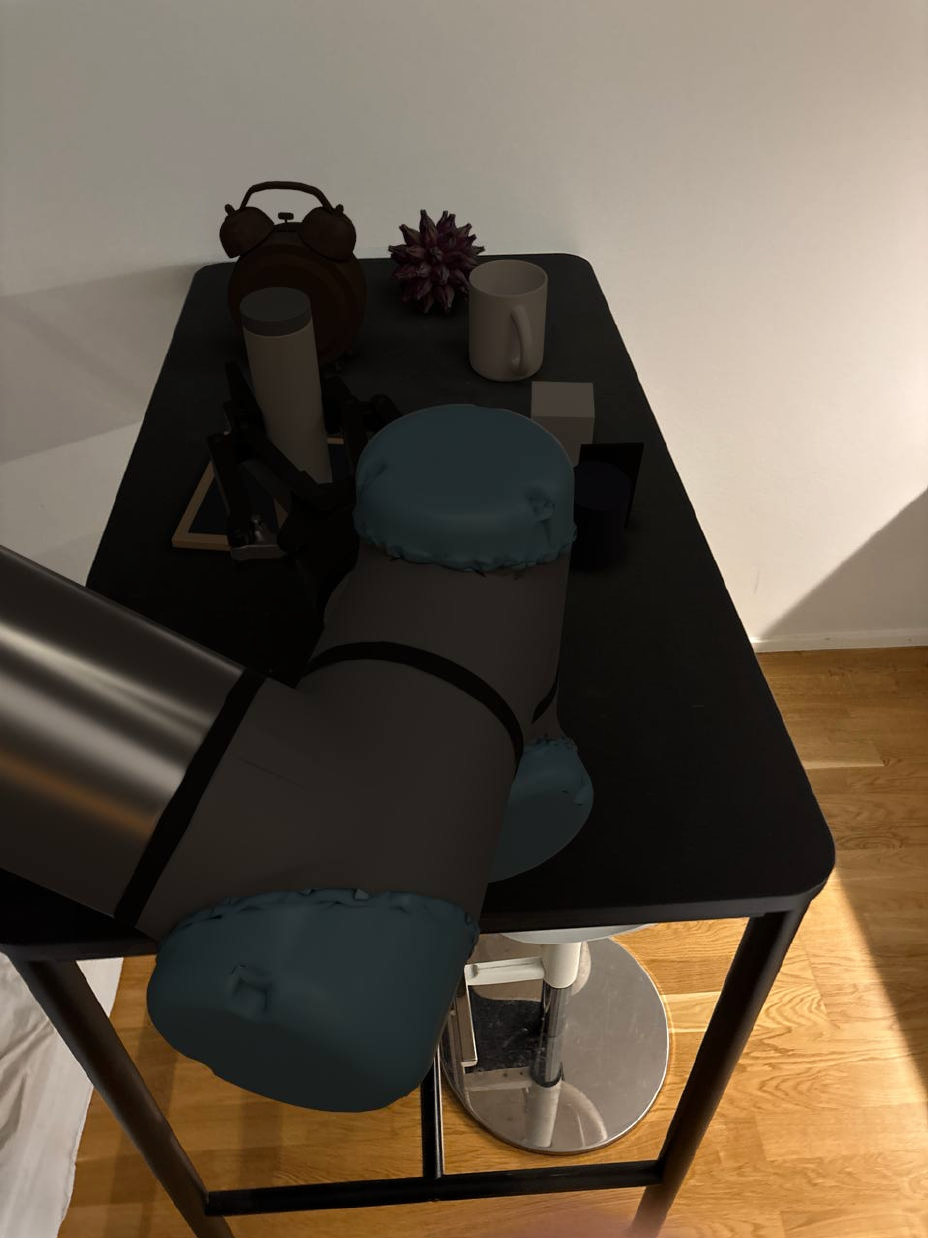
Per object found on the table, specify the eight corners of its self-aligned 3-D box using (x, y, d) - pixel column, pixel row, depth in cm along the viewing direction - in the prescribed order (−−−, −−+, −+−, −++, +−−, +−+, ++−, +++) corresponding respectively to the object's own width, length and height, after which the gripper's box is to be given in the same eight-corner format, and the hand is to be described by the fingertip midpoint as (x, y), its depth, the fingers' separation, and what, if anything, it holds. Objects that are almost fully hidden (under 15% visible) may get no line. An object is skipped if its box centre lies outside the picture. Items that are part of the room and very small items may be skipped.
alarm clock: (376, 348, 113) (362, 169, 99) (365, 381, 108) (349, 198, 94) (252, 342, 114) (221, 164, 100) (236, 375, 109) (200, 193, 95)
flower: (396, 299, 124) (487, 273, 124) (404, 343, 116) (502, 316, 115) (370, 209, 116) (467, 182, 116) (377, 250, 108) (482, 220, 107)
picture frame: (173, 547, 89) (170, 539, 88) (225, 438, 100) (224, 430, 100) (436, 566, 87) (436, 557, 86) (458, 452, 99) (458, 444, 98)
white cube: (528, 467, 97) (530, 415, 93) (529, 432, 101) (531, 381, 97) (589, 468, 96) (595, 416, 92) (588, 433, 101) (593, 382, 96)
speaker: (567, 510, 92) (579, 424, 83) (628, 525, 90) (646, 439, 82) (546, 569, 87) (556, 484, 79) (610, 584, 86) (627, 500, 78)
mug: (562, 396, 106) (568, 307, 98) (487, 406, 104) (488, 317, 97) (531, 341, 114) (535, 255, 106) (461, 350, 112) (461, 263, 105)
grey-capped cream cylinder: (275, 559, 67) (230, 318, 55) (289, 522, 70) (249, 284, 57) (333, 563, 67) (300, 322, 54) (344, 526, 70) (316, 288, 57)
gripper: (238, 698, 50) (151, 449, 65) (538, 604, 55) (393, 392, 70) (210, 591, 45) (123, 347, 60) (546, 498, 49) (386, 293, 64)
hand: (268, 372), depth 65 cm, fingers closed on grey-capped cream cylinder, 4 cm apart
